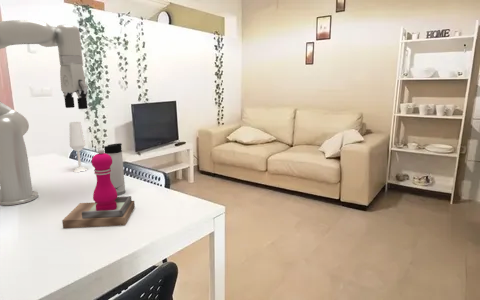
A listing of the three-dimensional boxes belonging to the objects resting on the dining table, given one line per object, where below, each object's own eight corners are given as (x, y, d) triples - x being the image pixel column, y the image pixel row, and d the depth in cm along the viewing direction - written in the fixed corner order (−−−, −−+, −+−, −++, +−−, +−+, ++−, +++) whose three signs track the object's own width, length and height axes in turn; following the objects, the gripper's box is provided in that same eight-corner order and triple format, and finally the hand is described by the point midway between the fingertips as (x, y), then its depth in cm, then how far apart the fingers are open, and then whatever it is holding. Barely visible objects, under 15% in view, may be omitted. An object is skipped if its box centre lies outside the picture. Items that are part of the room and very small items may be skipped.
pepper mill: (95, 215, 98) (88, 152, 93) (93, 207, 104) (87, 147, 100) (119, 210, 101) (114, 149, 97) (117, 203, 107) (111, 145, 103)
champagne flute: (71, 170, 158) (66, 122, 152) (86, 167, 161) (81, 121, 156) (74, 173, 152) (68, 123, 147) (89, 170, 156) (84, 122, 151)
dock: (63, 228, 95) (61, 214, 94) (80, 209, 108) (79, 197, 107) (125, 225, 97) (123, 211, 96) (134, 207, 110) (133, 195, 109)
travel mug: (120, 196, 121) (115, 145, 117) (105, 195, 123) (100, 144, 118) (129, 190, 127) (125, 142, 123) (114, 189, 128) (110, 141, 124)
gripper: (49, 61, 118) (55, 107, 121) (72, 59, 108) (78, 110, 111) (70, 62, 124) (75, 106, 127) (93, 60, 114) (98, 108, 117)
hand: (76, 108), depth 119 cm, fingers open, 9 cm apart
